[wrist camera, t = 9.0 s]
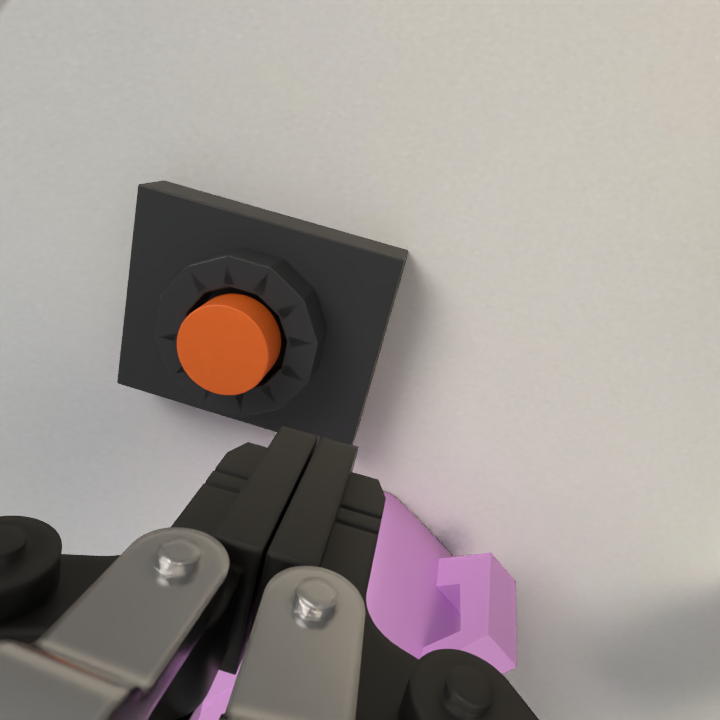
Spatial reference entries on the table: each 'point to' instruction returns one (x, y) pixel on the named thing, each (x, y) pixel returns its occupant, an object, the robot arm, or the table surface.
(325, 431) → the control box
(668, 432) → the table surface
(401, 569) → the teapot
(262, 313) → the button
